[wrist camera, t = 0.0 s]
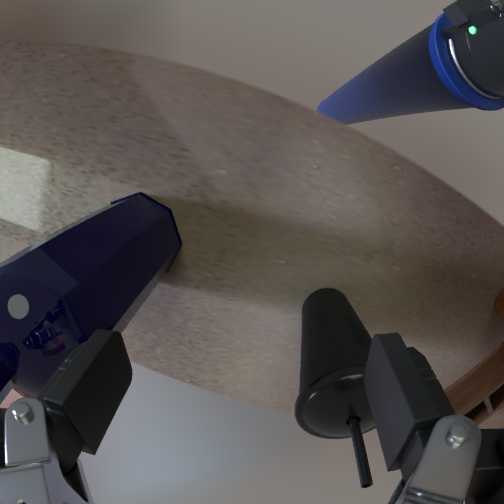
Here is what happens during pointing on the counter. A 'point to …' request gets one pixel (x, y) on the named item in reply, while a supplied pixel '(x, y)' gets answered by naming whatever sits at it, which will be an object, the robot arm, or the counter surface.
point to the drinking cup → (335, 374)
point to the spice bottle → (500, 304)
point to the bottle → (79, 286)
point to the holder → (480, 388)
